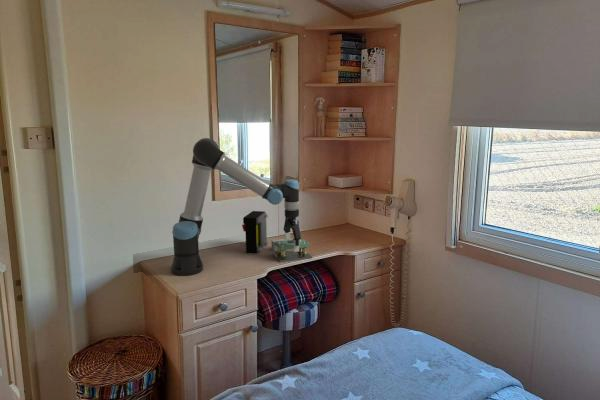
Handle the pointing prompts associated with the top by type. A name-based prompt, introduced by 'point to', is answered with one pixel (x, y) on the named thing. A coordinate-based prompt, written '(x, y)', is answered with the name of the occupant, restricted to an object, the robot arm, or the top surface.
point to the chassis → (291, 255)
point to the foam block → (275, 245)
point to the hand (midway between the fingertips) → (292, 247)
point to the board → (291, 244)
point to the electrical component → (255, 231)
